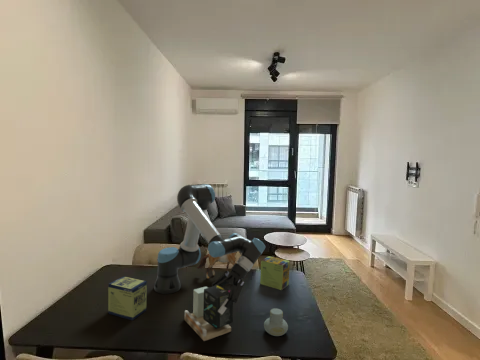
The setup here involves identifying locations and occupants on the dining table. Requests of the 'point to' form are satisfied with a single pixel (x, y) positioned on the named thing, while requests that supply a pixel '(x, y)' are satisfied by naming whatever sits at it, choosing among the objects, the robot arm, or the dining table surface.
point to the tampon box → (217, 306)
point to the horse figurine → (213, 260)
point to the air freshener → (276, 323)
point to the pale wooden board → (204, 327)
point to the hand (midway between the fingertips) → (212, 307)
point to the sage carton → (198, 302)
